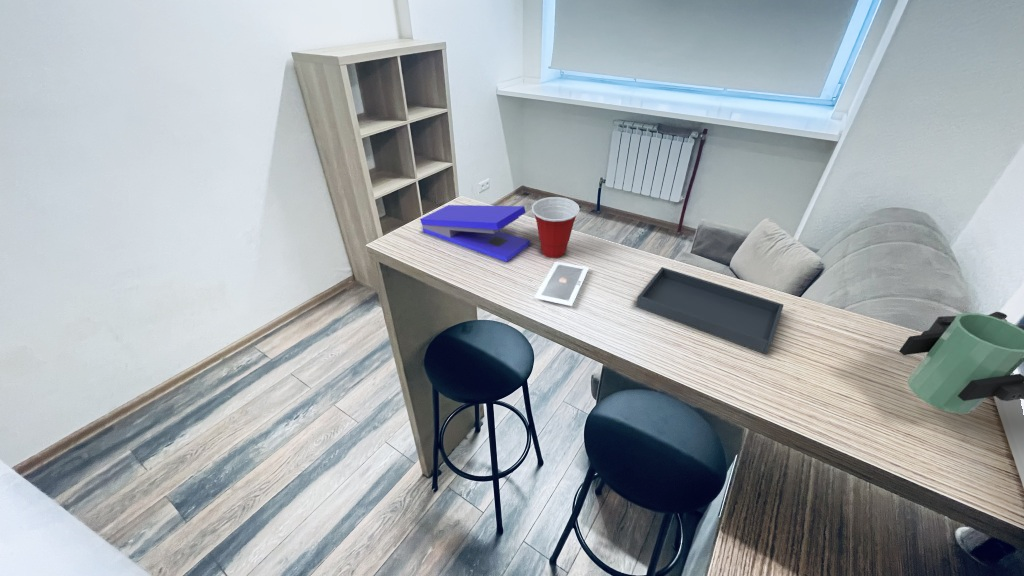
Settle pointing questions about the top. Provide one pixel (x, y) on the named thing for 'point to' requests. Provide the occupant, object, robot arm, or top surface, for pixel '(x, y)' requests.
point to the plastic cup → (555, 224)
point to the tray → (712, 308)
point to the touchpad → (562, 283)
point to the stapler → (478, 228)
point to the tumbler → (966, 360)
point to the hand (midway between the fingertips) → (935, 366)
